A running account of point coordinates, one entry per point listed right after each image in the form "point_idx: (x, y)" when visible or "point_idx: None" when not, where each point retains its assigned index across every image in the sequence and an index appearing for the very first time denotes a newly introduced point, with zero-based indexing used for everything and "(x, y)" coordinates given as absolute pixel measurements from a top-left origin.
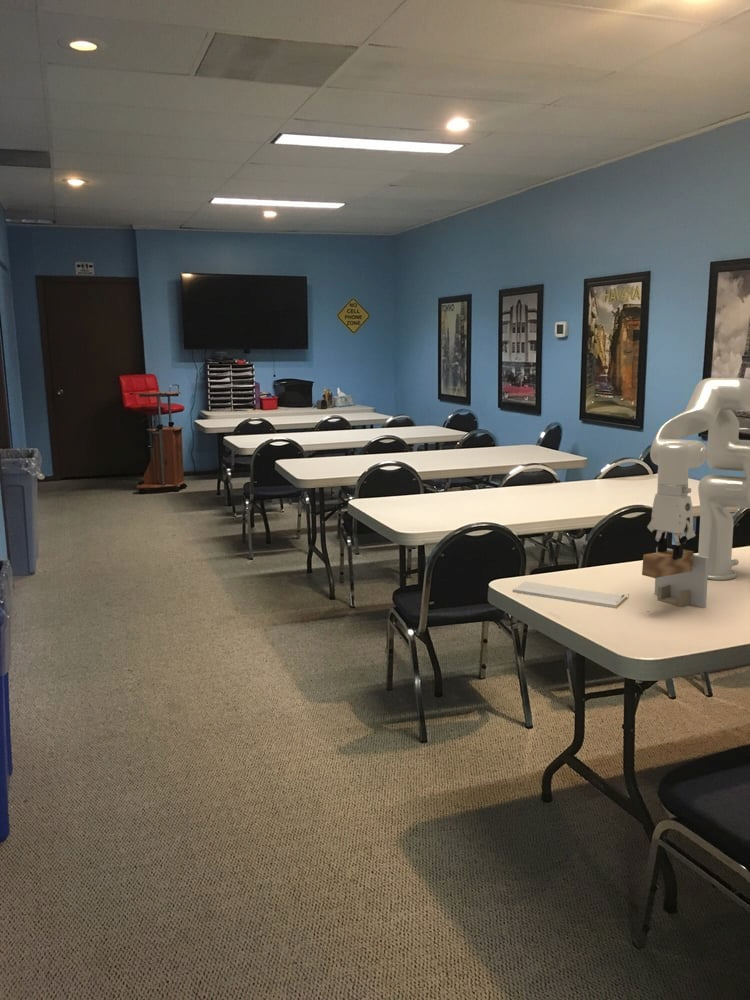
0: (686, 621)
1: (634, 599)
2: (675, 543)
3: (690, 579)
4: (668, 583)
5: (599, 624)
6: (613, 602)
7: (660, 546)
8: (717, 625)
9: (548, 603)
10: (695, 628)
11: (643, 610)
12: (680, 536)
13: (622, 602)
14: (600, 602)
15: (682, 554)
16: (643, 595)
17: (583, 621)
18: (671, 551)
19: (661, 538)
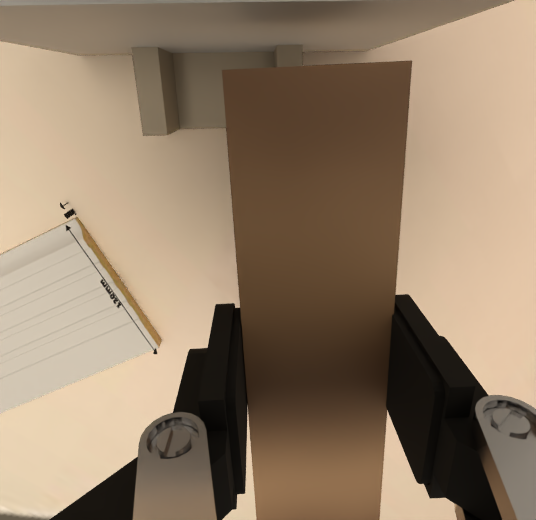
0: (411, 259)
1: (104, 206)
2: (455, 509)
3: (301, 36)
4: (140, 46)
5: (252, 468)
6: (125, 333)
7: (245, 455)
8: (517, 206)
9: (11, 460)
10: (471, 292)
11: (233, 284)
12: (513, 513)
13: (119, 279)
14: (102, 366)
15: (445, 344)
16: (72, 123)
17: None
18: (284, 307)
19: (217, 509)
